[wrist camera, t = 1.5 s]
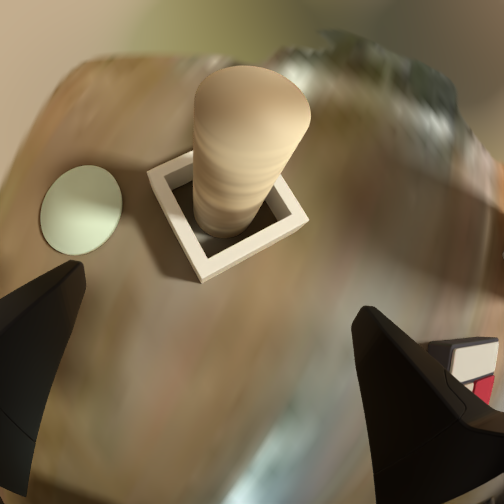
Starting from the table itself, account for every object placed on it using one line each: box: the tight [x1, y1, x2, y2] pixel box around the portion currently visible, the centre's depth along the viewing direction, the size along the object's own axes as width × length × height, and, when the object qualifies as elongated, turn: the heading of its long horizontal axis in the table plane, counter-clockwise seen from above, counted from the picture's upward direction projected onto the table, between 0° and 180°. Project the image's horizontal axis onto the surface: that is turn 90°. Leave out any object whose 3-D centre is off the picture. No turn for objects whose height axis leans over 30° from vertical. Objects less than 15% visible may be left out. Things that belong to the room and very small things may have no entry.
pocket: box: [147, 151, 309, 284], centre depth 22 cm, size 9×9×3 cm
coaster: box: [40, 165, 122, 256], centre depth 21 cm, size 8×8×1 cm
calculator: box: [428, 337, 499, 404], centre depth 22 cm, size 11×4×15 cm
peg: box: [193, 66, 311, 238], centre depth 17 cm, size 5×5×13 cm
